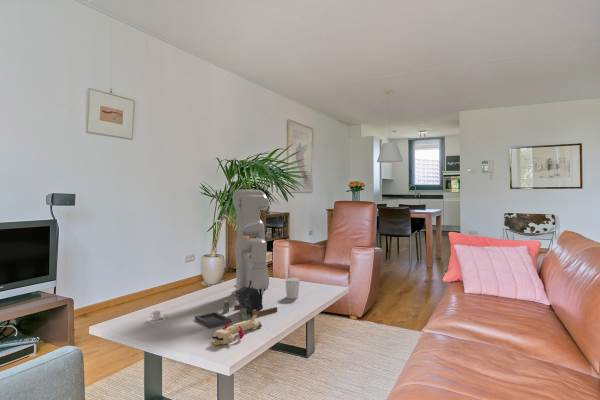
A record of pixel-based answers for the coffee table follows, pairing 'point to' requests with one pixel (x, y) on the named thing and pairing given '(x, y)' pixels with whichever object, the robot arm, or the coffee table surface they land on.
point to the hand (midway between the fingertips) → (258, 302)
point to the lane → (244, 311)
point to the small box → (249, 299)
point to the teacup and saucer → (157, 316)
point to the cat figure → (235, 330)
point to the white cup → (292, 288)
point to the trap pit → (213, 319)
